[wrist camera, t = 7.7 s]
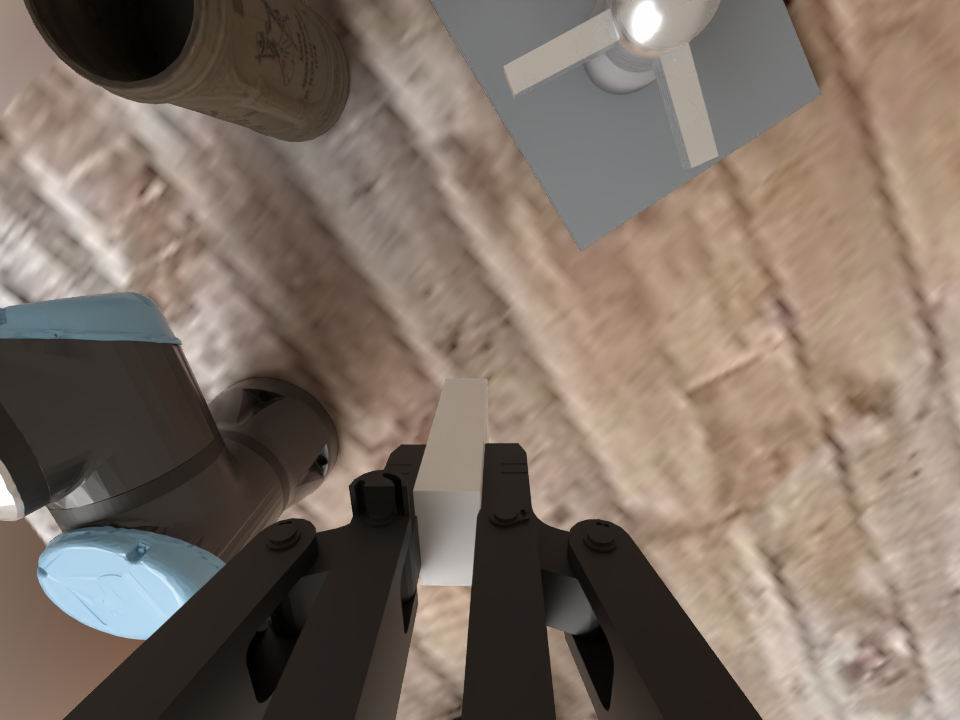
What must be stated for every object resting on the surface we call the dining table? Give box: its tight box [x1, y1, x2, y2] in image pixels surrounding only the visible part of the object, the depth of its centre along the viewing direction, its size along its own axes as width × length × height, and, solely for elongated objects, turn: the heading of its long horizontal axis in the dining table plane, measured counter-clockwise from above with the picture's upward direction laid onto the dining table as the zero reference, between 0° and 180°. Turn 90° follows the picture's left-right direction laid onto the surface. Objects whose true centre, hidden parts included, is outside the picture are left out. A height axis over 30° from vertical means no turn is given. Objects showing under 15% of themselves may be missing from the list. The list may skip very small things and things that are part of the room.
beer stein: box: [24, 0, 349, 142], centre depth 31 cm, size 15×11×20 cm
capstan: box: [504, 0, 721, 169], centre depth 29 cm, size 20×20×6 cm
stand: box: [430, 0, 821, 250], centre depth 32 cm, size 22×26×14 cm
